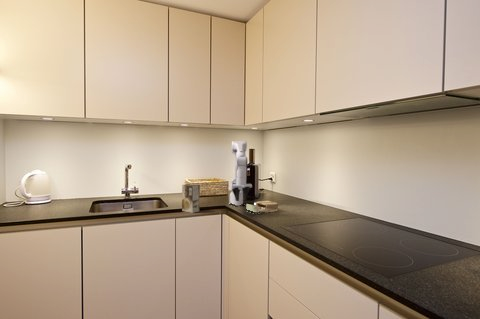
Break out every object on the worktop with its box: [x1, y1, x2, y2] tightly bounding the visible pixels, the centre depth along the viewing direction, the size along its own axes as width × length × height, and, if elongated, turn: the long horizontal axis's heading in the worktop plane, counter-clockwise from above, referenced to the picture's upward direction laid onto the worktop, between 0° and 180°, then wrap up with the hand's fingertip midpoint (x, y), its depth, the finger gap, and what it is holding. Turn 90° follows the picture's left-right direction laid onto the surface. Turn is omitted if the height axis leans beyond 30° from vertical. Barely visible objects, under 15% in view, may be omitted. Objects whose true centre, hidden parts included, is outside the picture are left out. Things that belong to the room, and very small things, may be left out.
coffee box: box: [181, 183, 201, 214], centre depth 169 cm, size 9×6×16 cm
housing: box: [256, 200, 279, 211], centre depth 175 cm, size 10×9×5 cm
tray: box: [245, 203, 266, 212], centre depth 170 cm, size 10×9×4 cm
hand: (240, 200), depth 162 cm, fingers open, 5 cm apart
